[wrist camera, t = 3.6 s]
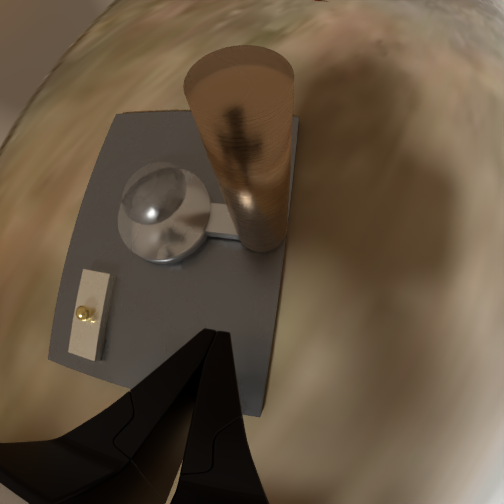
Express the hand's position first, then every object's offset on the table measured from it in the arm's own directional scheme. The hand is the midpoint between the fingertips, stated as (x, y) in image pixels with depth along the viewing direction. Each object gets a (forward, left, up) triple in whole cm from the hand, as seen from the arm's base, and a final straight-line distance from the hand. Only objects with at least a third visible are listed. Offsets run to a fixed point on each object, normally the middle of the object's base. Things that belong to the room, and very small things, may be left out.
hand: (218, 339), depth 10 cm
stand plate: (+9, -1, -9) cm, 13 cm away
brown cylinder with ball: (+7, -3, -8) cm, 11 cm away
